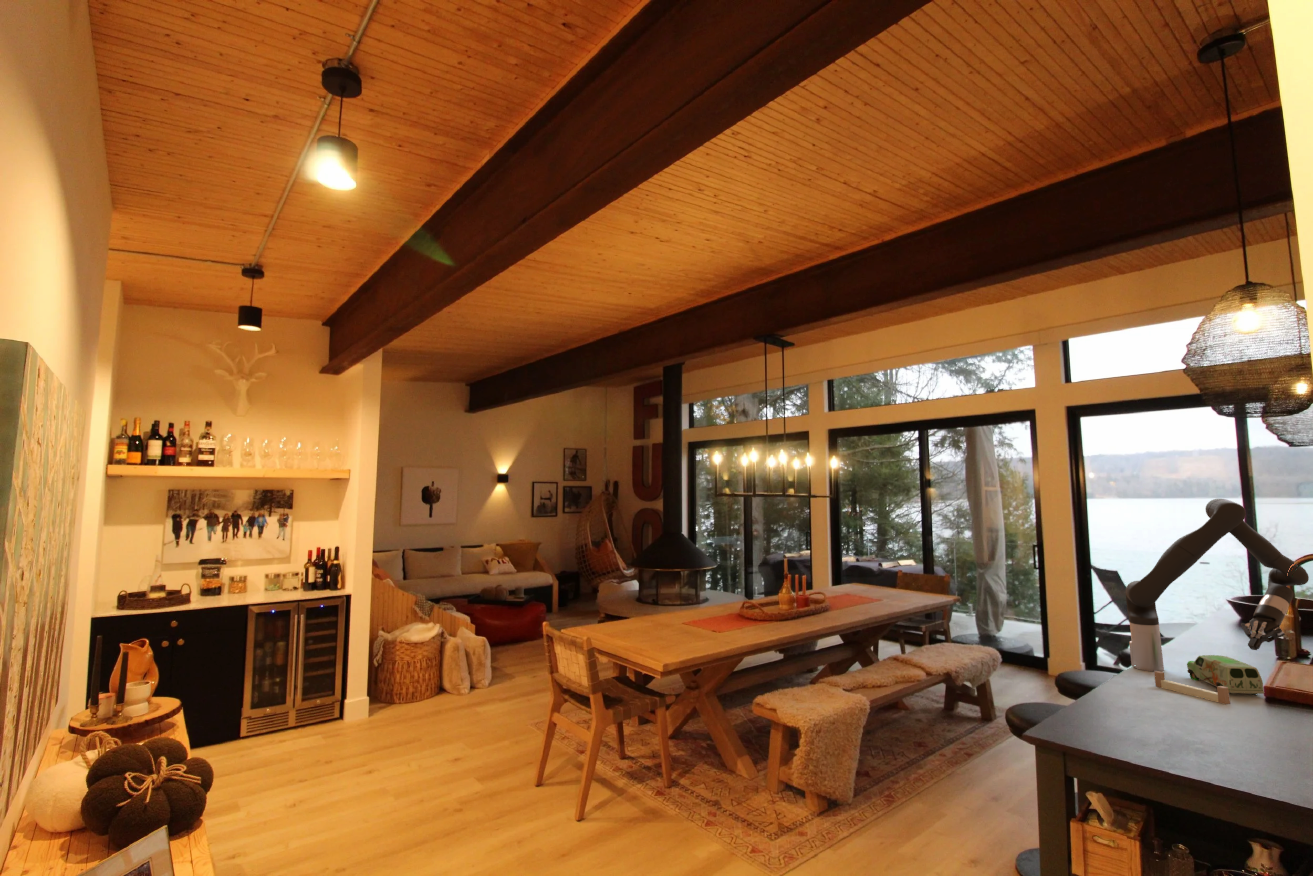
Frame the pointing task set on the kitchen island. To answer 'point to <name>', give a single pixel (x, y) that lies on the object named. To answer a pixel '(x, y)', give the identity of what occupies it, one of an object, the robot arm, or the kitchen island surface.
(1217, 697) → the rail
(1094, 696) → the kitchen island surface
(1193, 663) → the toy car
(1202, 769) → the kitchen island surface
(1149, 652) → the robot arm
